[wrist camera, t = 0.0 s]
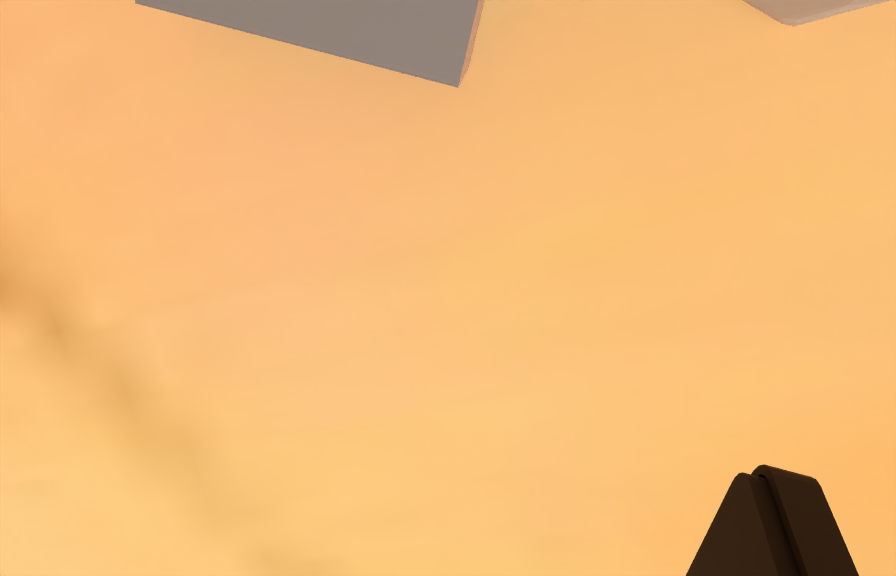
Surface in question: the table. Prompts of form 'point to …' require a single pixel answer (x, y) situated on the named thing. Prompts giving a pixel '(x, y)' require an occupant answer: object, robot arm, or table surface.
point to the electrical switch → (807, 9)
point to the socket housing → (356, 29)
